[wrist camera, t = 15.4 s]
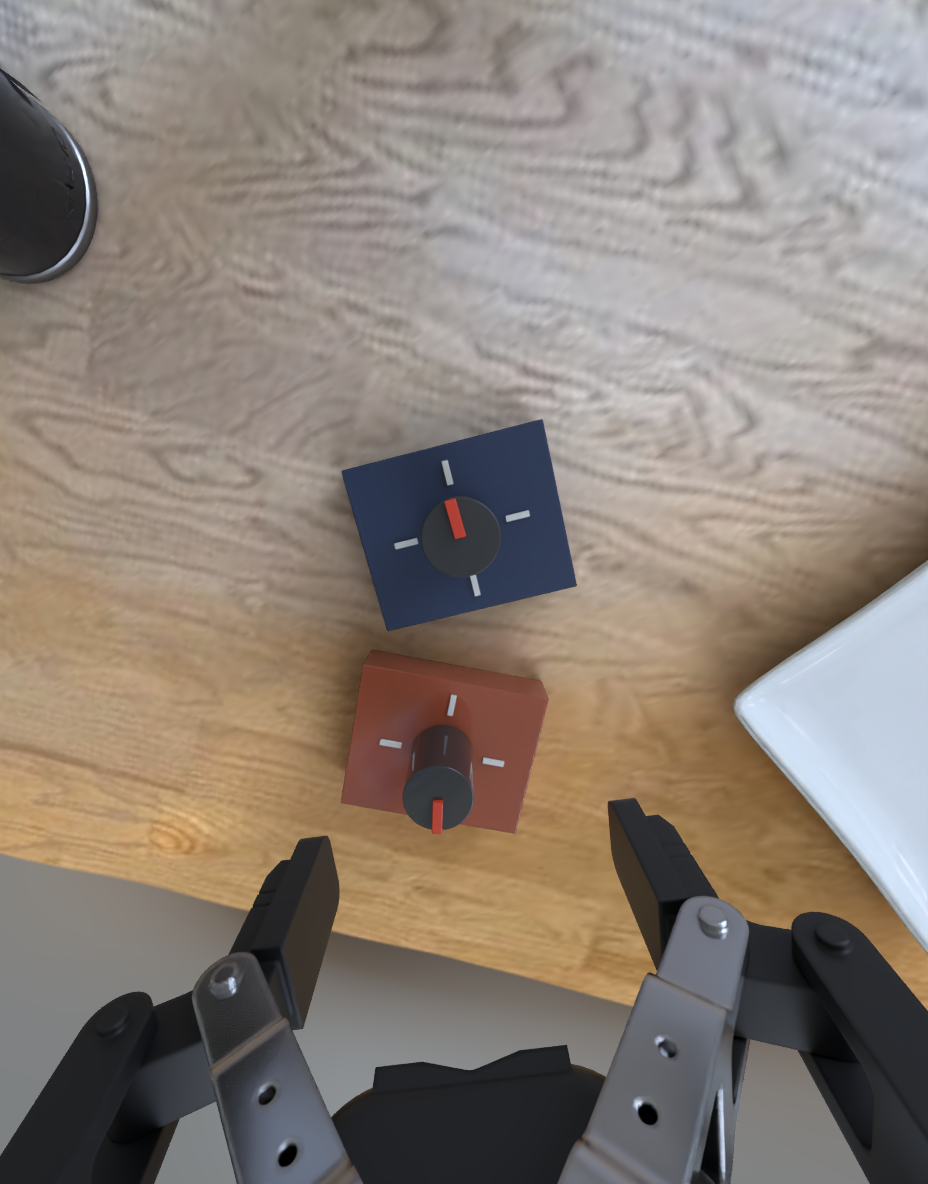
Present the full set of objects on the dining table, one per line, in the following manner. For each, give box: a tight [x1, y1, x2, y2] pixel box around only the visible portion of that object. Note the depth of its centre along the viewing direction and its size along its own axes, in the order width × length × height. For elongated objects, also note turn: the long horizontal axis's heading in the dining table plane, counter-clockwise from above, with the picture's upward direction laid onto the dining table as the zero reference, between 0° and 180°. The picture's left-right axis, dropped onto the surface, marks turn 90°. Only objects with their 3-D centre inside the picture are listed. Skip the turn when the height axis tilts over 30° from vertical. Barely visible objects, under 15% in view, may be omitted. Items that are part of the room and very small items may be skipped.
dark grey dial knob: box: [402, 725, 474, 834], centre depth 30 cm, size 4×4×5 cm
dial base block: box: [341, 650, 549, 834], centre depth 34 cm, size 12×10×3 cm
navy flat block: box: [342, 419, 577, 631], centre depth 31 cm, size 12×10×3 cm
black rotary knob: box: [421, 496, 501, 577], centre depth 27 cm, size 4×4×5 cm
